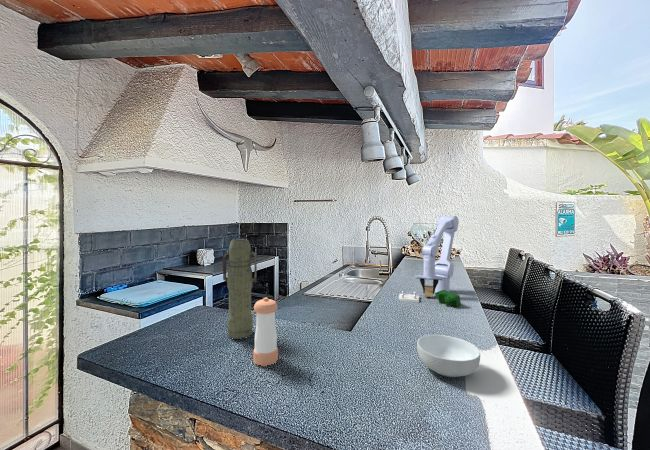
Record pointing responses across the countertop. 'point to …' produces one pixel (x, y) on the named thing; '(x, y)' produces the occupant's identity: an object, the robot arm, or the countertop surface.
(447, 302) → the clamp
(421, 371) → the countertop surface
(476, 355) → the cereal bowl
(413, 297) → the plate
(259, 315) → the pepper shaker
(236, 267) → the thermos
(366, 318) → the countertop surface
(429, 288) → the block
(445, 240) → the robot arm
